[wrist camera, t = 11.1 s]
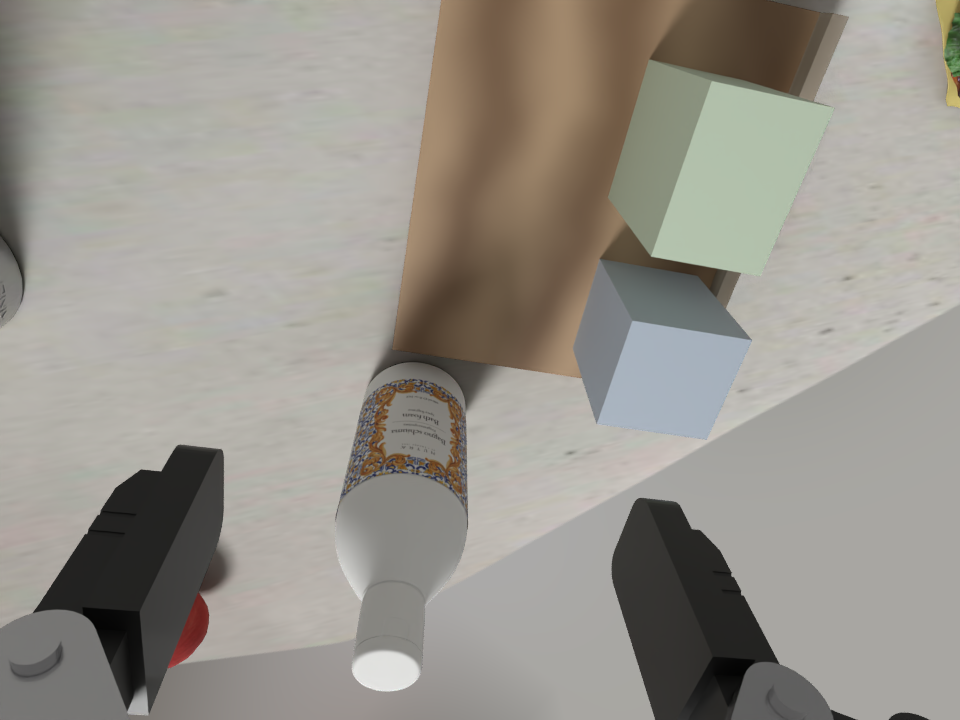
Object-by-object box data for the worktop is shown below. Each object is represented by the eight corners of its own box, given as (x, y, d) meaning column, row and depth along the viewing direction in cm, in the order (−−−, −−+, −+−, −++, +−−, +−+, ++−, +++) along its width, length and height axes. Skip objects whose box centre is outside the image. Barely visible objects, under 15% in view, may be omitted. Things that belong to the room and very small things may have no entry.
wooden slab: (394, 334, 41) (390, 359, 38) (452, -70, 30) (451, -77, 27) (675, 377, 43) (690, 403, 40) (820, 16, 32) (854, 18, 30)
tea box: (607, 197, 35) (650, 256, 27) (649, 59, 31) (712, 80, 24) (696, 214, 35) (763, 277, 28) (745, 80, 32) (838, 108, 24)
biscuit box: (572, 348, 39) (596, 424, 32) (599, 258, 37) (632, 320, 30) (666, 363, 40) (709, 440, 33) (700, 276, 37) (755, 340, 30)
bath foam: (477, 371, 42) (491, 632, 25) (451, 451, 46) (446, 730, 28) (375, 347, 41) (315, 603, 24) (355, 431, 45) (290, 708, 27)
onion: (184, 618, 54) (144, 710, 47) (132, 579, 51) (81, 670, 44) (236, 591, 52) (202, 682, 45) (185, 550, 50) (141, 640, 43)
